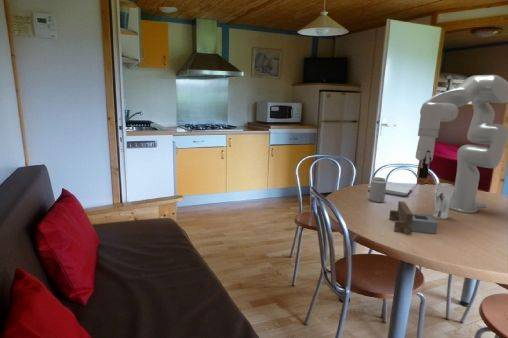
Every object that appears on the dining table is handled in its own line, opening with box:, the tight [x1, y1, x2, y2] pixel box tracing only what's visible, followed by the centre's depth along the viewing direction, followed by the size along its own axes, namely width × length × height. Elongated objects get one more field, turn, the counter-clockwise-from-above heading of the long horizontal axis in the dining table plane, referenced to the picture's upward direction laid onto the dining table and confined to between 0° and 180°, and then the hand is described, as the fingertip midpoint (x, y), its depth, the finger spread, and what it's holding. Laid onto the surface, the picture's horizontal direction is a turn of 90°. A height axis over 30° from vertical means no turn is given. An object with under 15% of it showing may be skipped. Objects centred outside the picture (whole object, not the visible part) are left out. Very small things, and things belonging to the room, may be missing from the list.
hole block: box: [411, 212, 438, 235], centre depth 140 cm, size 10×10×4 cm
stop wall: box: [388, 200, 413, 235], centre depth 142 cm, size 6×18×8 cm, turn 166°
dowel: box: [416, 159, 427, 186], centre depth 144 cm, size 3×3×12 cm
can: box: [368, 176, 387, 203], centre depth 177 cm, size 8×8×12 cm
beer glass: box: [432, 182, 455, 220], centre depth 154 cm, size 7×7×15 cm
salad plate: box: [367, 181, 414, 197], centre depth 199 cm, size 21×21×3 cm
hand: (421, 176), depth 144 cm, fingers closed on dowel, 3 cm apart
